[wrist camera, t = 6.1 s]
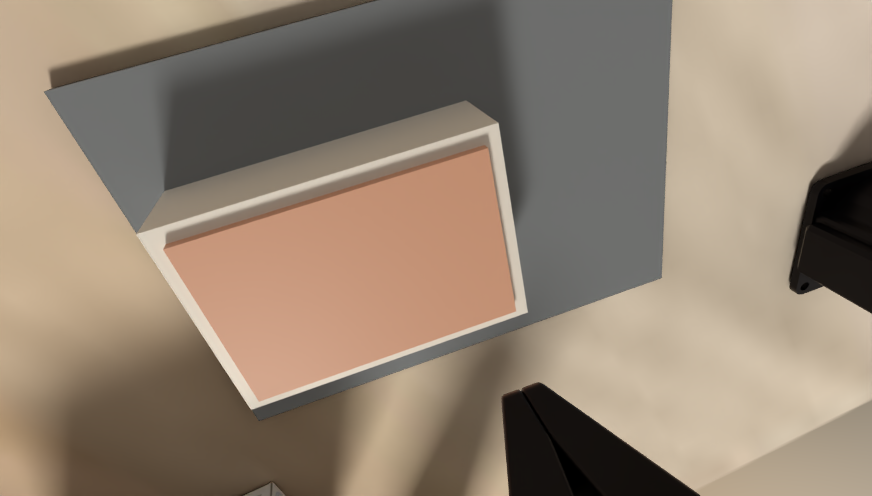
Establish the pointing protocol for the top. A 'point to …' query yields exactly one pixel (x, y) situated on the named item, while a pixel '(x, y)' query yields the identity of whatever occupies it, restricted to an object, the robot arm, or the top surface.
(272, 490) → the light bulb box
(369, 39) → the rubber mat
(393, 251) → the ivory tile
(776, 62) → the top surface
